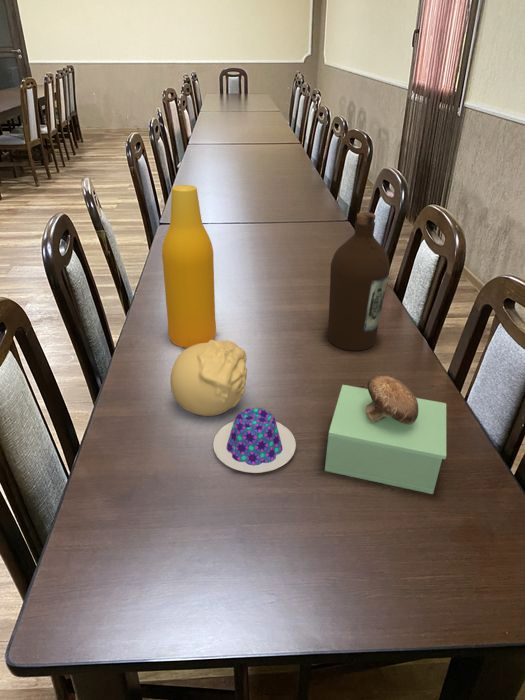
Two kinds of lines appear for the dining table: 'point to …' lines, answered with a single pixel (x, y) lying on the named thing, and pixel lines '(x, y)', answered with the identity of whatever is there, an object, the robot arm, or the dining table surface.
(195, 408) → the sculpture
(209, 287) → the beer bottle
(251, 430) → the pudding
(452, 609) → the dining table surface
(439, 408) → the green flat panel
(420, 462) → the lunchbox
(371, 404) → the mushroom
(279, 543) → the dining table surface
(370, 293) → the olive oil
